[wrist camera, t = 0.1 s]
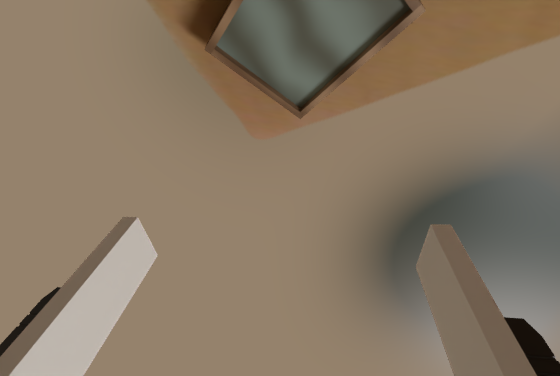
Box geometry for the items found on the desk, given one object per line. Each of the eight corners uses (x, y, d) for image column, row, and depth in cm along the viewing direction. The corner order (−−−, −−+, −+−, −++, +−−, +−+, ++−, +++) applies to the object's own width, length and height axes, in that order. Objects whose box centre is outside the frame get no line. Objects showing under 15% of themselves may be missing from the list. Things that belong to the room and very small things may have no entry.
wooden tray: (315, -150, 20) (315, -146, 18) (417, -5, 27) (425, 10, 25) (212, 33, 32) (204, 49, 30) (301, 102, 39) (300, 118, 37)
